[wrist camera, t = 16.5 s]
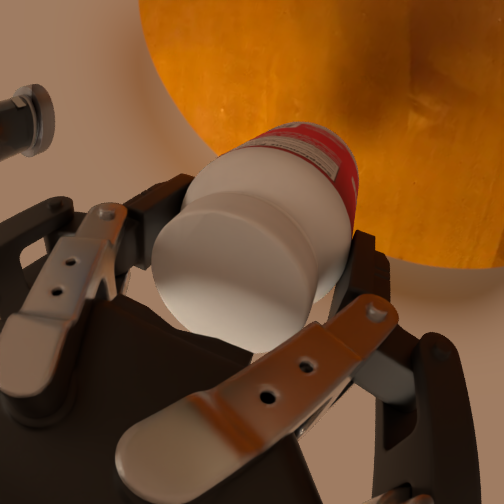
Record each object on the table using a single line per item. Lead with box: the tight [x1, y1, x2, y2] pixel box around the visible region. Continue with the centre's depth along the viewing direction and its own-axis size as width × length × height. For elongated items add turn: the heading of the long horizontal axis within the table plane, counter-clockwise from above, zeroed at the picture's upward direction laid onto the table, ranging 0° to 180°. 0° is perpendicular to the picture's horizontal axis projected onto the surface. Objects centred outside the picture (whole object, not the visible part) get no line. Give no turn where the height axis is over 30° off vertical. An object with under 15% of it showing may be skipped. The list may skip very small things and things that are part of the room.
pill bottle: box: [151, 122, 359, 353], centre depth 13 cm, size 6×6×11 cm
